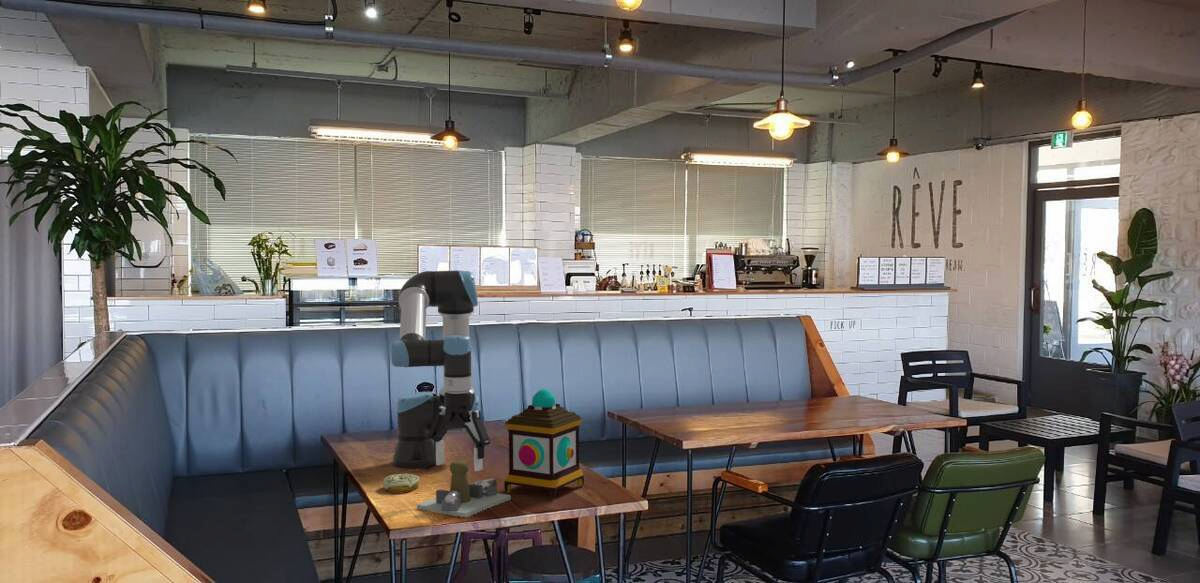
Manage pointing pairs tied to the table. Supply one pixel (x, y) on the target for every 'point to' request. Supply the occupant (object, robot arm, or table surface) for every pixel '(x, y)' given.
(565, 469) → the decorative lantern
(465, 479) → the cork
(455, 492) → the shaft
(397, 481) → the decorated donut
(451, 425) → the robot arm
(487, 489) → the shaft
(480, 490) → the rig
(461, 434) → the table surface
